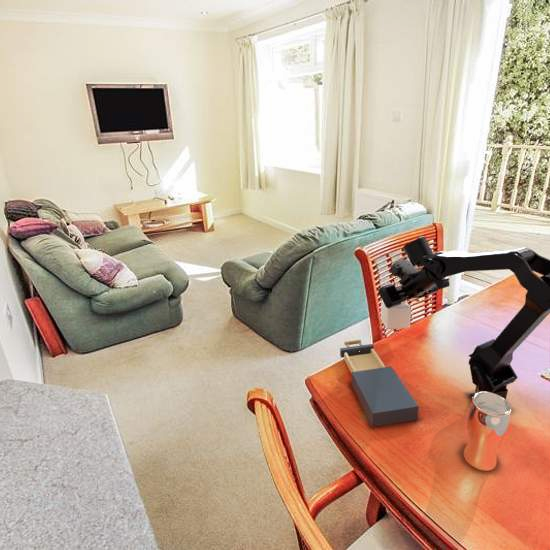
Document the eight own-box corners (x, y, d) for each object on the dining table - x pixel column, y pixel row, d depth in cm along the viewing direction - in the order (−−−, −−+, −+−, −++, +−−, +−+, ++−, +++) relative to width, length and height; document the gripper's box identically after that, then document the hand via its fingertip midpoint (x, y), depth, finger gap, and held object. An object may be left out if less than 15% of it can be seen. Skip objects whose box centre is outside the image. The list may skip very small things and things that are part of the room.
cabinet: (351, 384, 102) (351, 372, 100) (390, 378, 103) (391, 366, 101) (372, 427, 88) (372, 413, 86) (417, 419, 89) (418, 406, 87)
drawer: (336, 348, 116) (336, 341, 115) (367, 343, 117) (367, 336, 116) (355, 387, 99) (356, 379, 98) (391, 381, 100) (392, 373, 99)
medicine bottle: (402, 318, 121) (404, 283, 117) (410, 328, 114) (412, 292, 110) (380, 319, 121) (381, 285, 117) (387, 330, 114) (388, 293, 110)
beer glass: (453, 451, 80) (463, 397, 74) (478, 440, 82) (490, 386, 76) (480, 478, 74) (493, 421, 68) (506, 465, 76) (521, 409, 70)
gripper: (434, 247, 108) (404, 270, 122) (384, 261, 101) (358, 284, 115) (454, 281, 105) (421, 301, 118) (403, 298, 98) (374, 317, 112)
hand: (393, 300), depth 116 cm, fingers closed on medicine bottle, 6 cm apart
